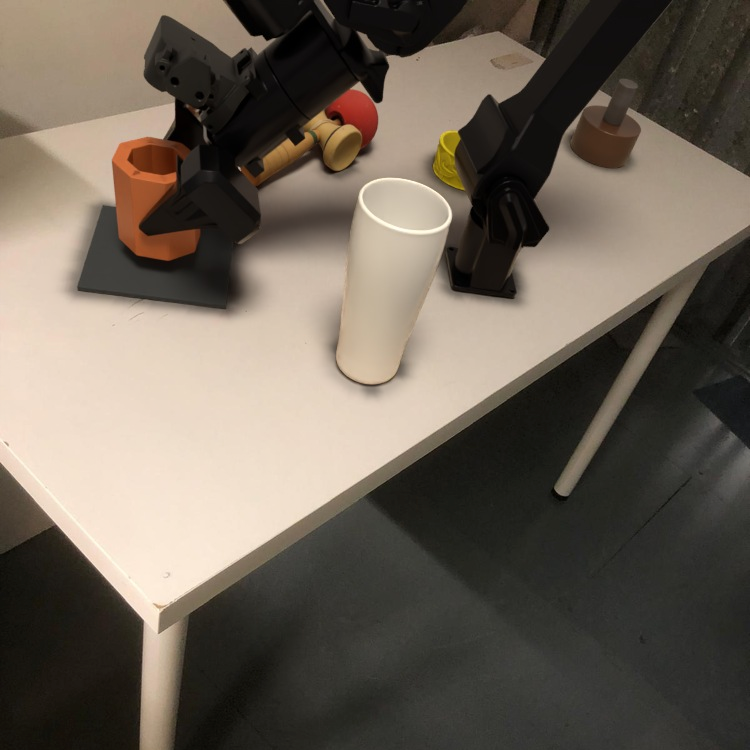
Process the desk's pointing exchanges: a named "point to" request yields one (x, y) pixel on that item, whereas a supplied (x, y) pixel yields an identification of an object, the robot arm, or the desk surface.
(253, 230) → the robot arm
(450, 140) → the bracelet
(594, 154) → the stand
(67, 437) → the desk surface
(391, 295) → the drinking glass
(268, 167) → the kendama
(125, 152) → the orange hollow octagonal prism
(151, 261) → the mat
